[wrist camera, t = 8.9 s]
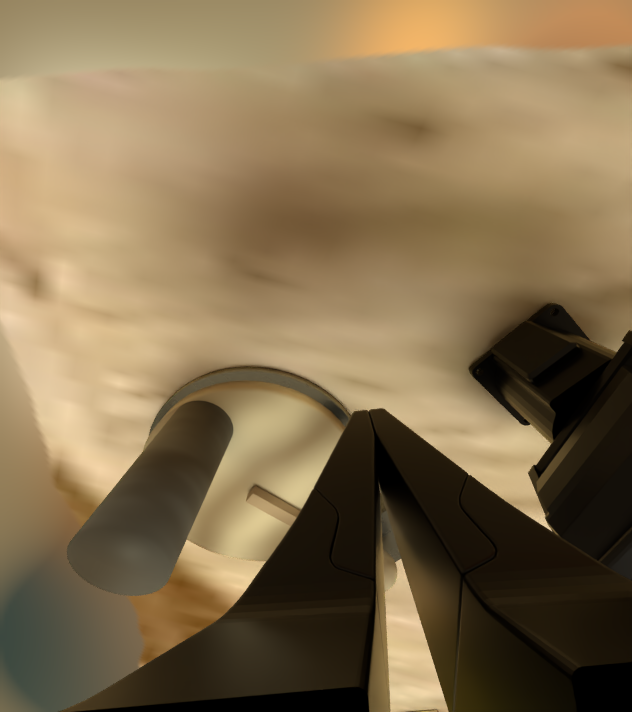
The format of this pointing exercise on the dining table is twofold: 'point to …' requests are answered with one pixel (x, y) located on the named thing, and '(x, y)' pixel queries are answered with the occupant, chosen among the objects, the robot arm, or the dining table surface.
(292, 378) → the base
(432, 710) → the small box
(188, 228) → the dining table surface
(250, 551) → the disc
